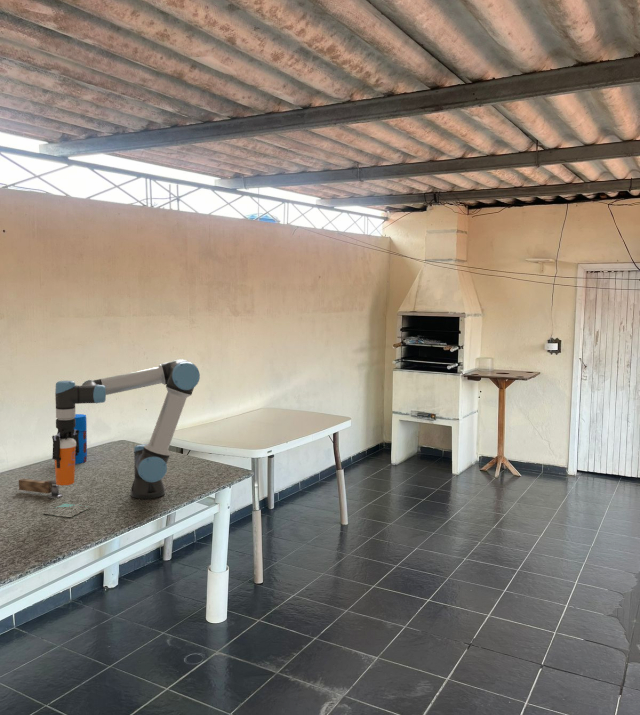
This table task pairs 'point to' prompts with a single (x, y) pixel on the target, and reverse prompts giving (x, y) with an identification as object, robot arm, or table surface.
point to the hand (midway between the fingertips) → (66, 473)
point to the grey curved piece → (55, 492)
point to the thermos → (81, 438)
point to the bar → (36, 485)
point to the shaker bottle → (66, 462)
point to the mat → (66, 505)
